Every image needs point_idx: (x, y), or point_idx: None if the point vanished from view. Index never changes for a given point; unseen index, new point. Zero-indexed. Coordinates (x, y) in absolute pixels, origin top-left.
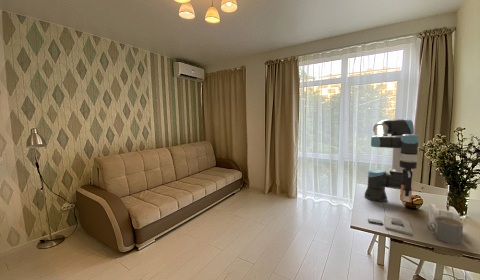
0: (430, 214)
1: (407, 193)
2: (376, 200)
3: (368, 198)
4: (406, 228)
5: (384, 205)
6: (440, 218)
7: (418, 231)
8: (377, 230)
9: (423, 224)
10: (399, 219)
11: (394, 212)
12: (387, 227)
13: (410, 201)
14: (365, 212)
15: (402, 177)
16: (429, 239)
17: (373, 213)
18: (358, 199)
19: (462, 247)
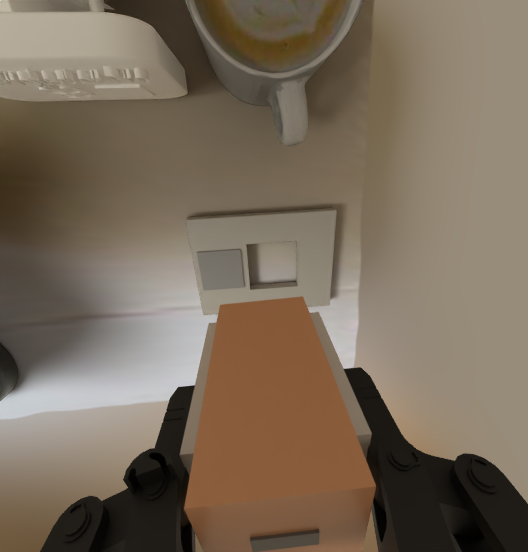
0: (51, 92)
1: (376, 411)
2: (4, 357)
3: (13, 385)
4: (295, 233)
5: (32, 319)
6: (209, 29)
7: (268, 179)
8: (358, 320)
9: (148, 145)
10: (205, 260)
11: (96, 276)
12: (329, 298)
13: (304, 303)
14: None
15: None
16: (333, 138)
17: (195, 346)
18: (69, 408)
19: None
